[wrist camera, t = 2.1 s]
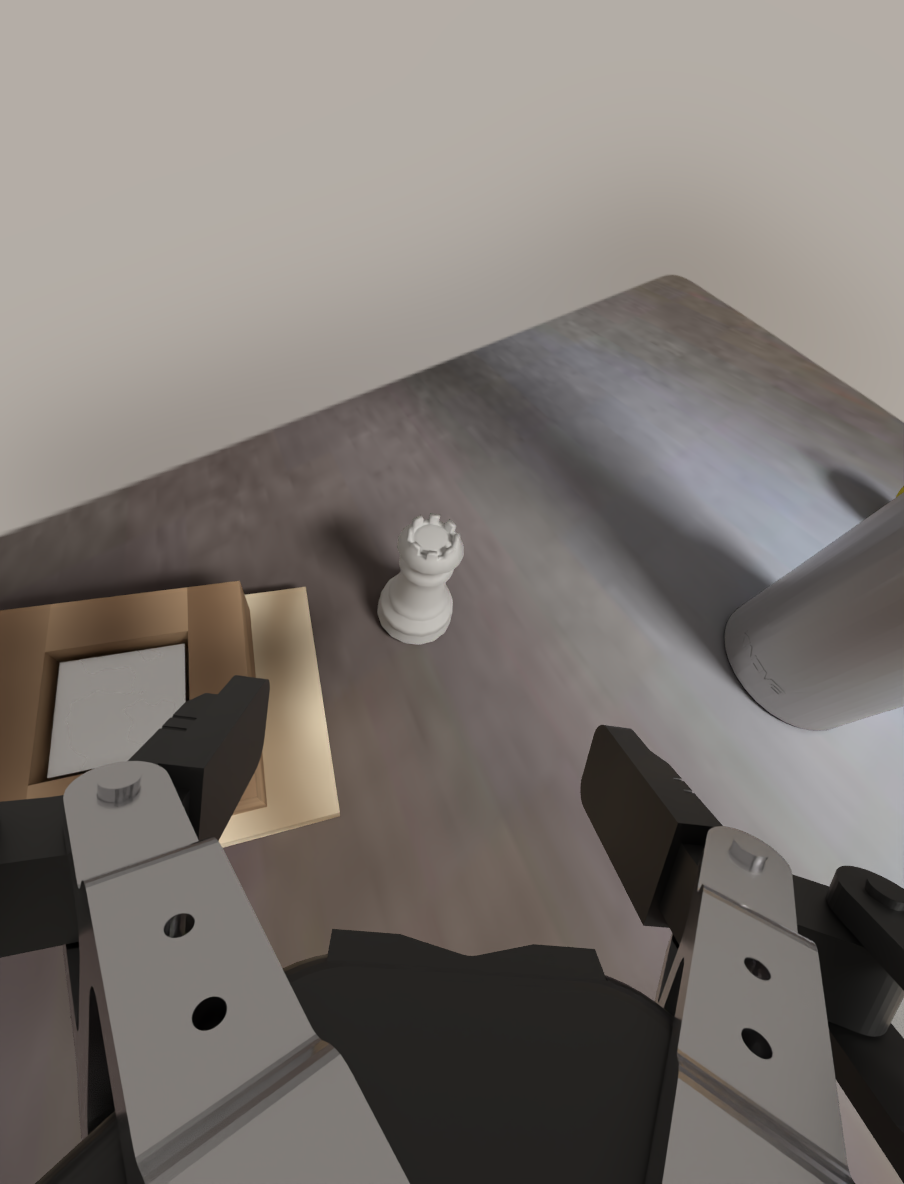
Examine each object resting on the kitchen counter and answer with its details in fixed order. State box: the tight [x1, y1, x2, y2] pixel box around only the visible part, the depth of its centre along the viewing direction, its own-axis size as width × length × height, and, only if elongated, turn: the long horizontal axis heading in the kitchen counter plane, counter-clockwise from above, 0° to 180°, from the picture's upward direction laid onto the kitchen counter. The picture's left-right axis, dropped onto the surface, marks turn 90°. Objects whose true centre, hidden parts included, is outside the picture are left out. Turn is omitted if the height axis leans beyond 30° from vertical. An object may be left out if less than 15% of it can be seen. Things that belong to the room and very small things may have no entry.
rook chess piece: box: [377, 513, 464, 645], centre depth 26 cm, size 4×4×8 cm
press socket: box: [0, 581, 340, 848], centre depth 22 cm, size 16×12×4 cm
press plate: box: [47, 644, 190, 780], centre depth 21 cm, size 5×5×1 cm
